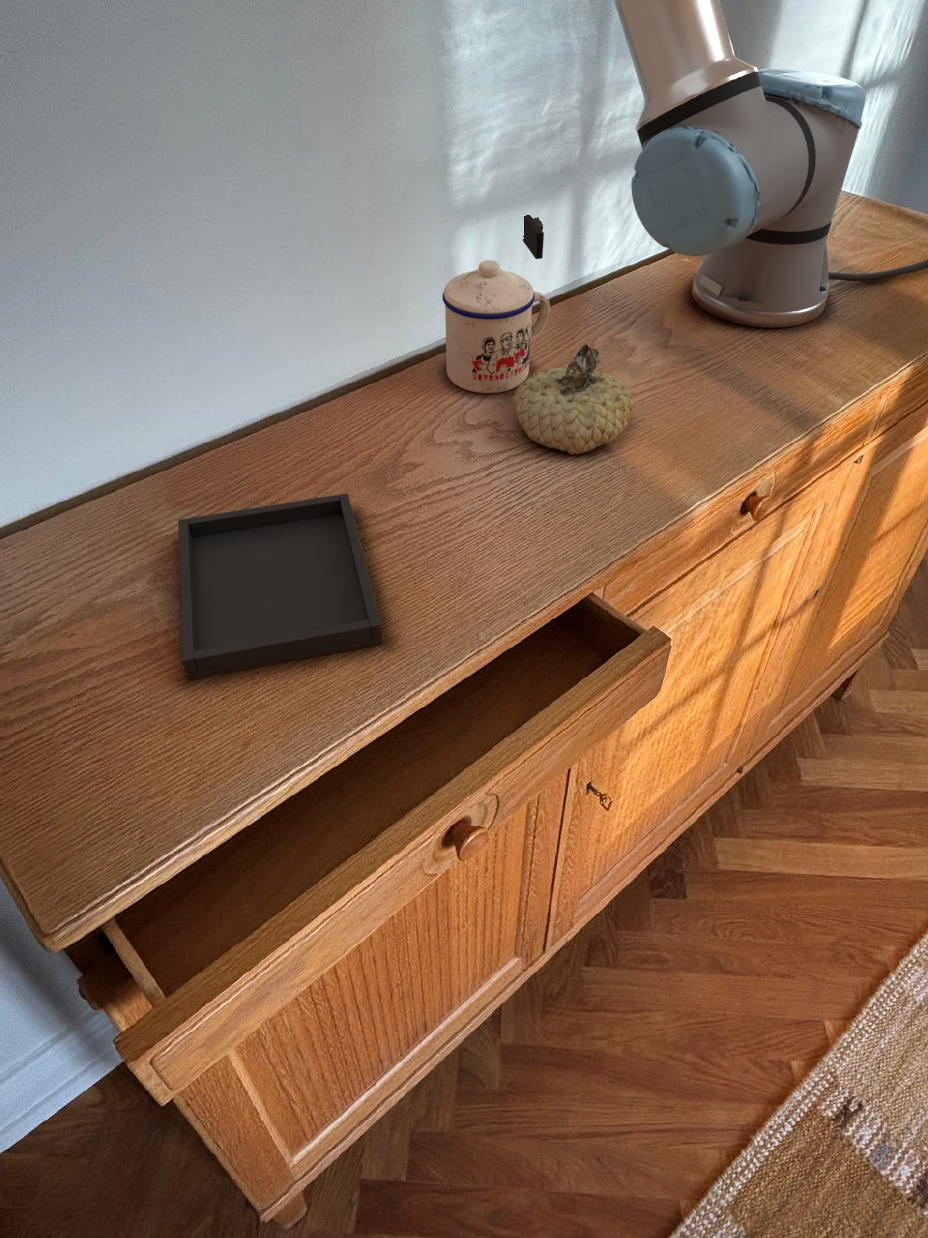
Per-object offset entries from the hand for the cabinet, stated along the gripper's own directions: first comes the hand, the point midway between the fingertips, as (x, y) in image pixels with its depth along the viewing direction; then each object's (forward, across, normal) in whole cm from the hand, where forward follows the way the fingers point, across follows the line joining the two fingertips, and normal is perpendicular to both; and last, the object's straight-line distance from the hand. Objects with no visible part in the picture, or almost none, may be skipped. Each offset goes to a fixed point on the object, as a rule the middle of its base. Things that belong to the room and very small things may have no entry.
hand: (478, 253), depth 91 cm
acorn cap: (+21, -4, -9) cm, 23 cm away
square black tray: (+37, +26, -9) cm, 46 cm away
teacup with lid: (+9, 0, -9) cm, 13 cm away
